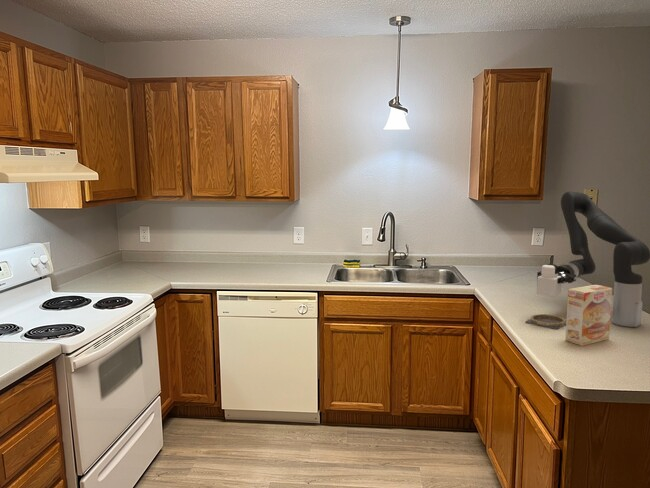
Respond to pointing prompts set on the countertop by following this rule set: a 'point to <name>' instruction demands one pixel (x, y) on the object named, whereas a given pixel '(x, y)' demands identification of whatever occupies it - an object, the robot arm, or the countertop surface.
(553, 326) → the ring seat
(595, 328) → the coffeecake box
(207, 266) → the countertop surface
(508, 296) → the countertop surface
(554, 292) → the medicine bottle
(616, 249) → the robot arm
